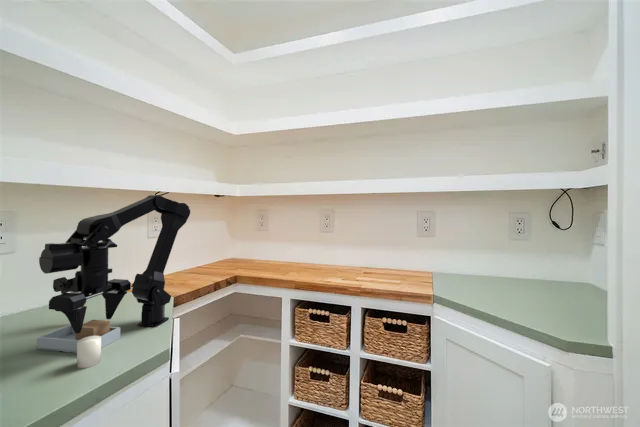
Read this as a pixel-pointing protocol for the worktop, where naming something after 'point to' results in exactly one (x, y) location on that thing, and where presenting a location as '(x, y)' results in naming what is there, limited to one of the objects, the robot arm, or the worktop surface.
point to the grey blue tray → (71, 339)
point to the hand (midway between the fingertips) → (94, 325)
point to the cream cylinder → (88, 351)
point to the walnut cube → (93, 329)
